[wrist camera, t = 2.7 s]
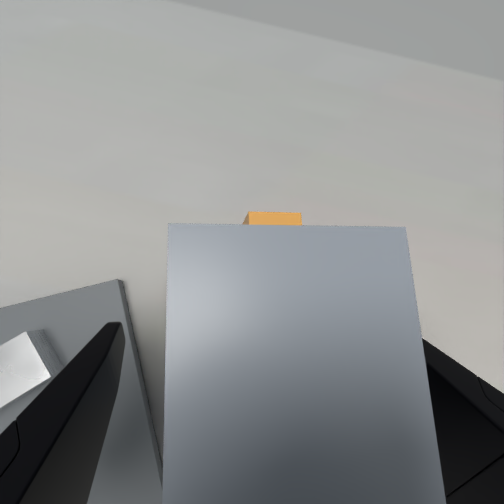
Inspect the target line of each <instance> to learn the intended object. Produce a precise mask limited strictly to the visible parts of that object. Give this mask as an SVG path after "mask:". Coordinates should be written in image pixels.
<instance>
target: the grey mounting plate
mask: <svg viewBox="0 0 504 504" xmlns="http://www.w3.org/2000/svg"><path fill="white" fill-rule="evenodd" d="M116 321H119V322H121V323H122V325H123V330H124V334H125V349H124V356H123V362H122V369H121V375H120V382H119V388H118V392H117V396H116V400H115V404H114V407H113V411H112V415H111V418H110V422H109V425H108V429H107V433H106V436H105V440H104V444H103V447H102V451H101V454H100V458H99V462H98V465H97V469H96V473H95V476H94V480H93V484H92V487H91V491H90V494H89V498H88V502H87V504H162V497H163V469H162V464H161V459H160V455H159V450H158V446H157V441H156V436H155V432H154V427H153V422H152V418H151V413H150V408H149V404H148V399H147V394H146V390H145V385H144V380H143V376H142V371H141V367H140V362H139V357H138V353H137V348H136V343H135V339H134V334H133V329H132V325H131V320H130V315H129V311H128V306H127V301H126V297H125V292H124V287H123V283H122V281H121V280H118V279H116V280H112V281H108V282H104V283H100V284H96V285H92V286H88V287H84V288H80V289H76V290H72V291H68V292H64V293H60V294H56V295H52V296H48V297H44V298H40V299H35V300H31V301H27V302H23V303H19V304H15V305H11V306H7V307H3V308H0V434H1V433H2V432H3V431H4V430H5V429H6V428H7V427H8V426H9V425H10V423H11V422H12V421H14V420H16V417H17V416H18V415H19V414H20V413H21V412H22V411H23V410H24V409H25V408H26V407H27V406H28V405H29V404H30V403H31V402H32V401H33V400H34V399H35V397H36V396H37V395H38V394H39V393H40V392H41V391H42V390H43V389H44V388H45V387H46V386H47V385H48V384H49V383H50V382H51V381H52V380H53V379H54V378H55V377H56V375H57V374H58V373H59V372H60V371H61V370H62V369H63V368H64V367H65V366H66V365H67V364H68V363H69V362H70V361H71V360H72V359H73V358H74V357H75V356H76V355H77V353H78V352H79V351H80V350H81V349H82V348H83V347H84V346H85V345H86V344H87V343H88V342H89V341H90V340H91V339H92V338H93V337H94V336H95V335H96V334H97V333H98V331H99V330H100V329H101V328H102V327H103V326H104V325H105V324H106V323H108V322H116Z"/></svg>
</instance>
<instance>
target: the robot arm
mask: <svg viewBox="0 0 504 504" xmlns="http://www.w3.org/2000/svg"><path fill="white" fill-rule="evenodd" d="M422 342H423V349H424V356H425V363H426V369H427V376H428V383H429V390H430V397H431V403H432V410H433V417H434V424H435V431H436V437H437V444H438V451H439V458H440V465H441V471H442V478H443V485H444V492H445V499H446V504H504V394H503V393H502V392H500V391H499V390H497V389H496V388H494V387H493V386H491V385H490V384H488V383H487V382H486V381H484V380H483V379H481V378H480V377H477V376H476V375H475V374H474V373H472V372H471V371H469V370H468V369H466V368H465V367H464V366H462V365H461V364H459V363H458V362H456V361H455V360H453V359H452V358H450V357H449V356H448V355H446V354H445V353H443V352H442V351H440V350H439V349H437V348H436V347H434V346H433V345H431V344H430V343H429V342H427V341H426V340H424V339H423V338H422ZM124 349H125V334H124V330H123V325H122V323H121V322H119V321H116V322H108V323H106V324H105V325H104V326H103V327H102V328H101V329H100V330H99V331H98V333H97V334H96V335H95V336H94V337H93V338H92V339H91V340H90V341H89V342H88V343H87V344H86V345H85V346H84V347H83V348H82V349H81V350H80V351H79V352H78V353H77V355H76V356H75V357H74V358H73V359H72V360H71V361H70V362H69V363H68V364H67V365H66V366H65V367H64V368H63V369H62V370H61V371H60V372H59V373H58V374H57V375H56V377H55V378H54V379H53V380H52V381H51V382H50V383H49V384H48V385H47V386H46V387H45V388H44V389H43V390H42V391H41V392H40V393H39V394H38V395H37V396H36V397H35V399H34V400H33V401H32V402H31V403H30V404H29V405H28V406H27V407H26V408H25V409H24V410H23V411H22V412H21V413H20V414H19V415H18V416H17V417H16V420H14V421H12V422H11V423H10V425H9V426H8V427H7V428H6V429H5V430H4V431H3V432H2V433H1V434H0V504H87V502H88V498H89V494H90V491H91V487H92V484H93V480H94V476H95V473H96V469H97V465H98V462H99V458H100V454H101V451H102V447H103V444H104V440H105V436H106V433H107V429H108V425H109V422H110V418H111V415H112V411H113V407H114V404H115V400H116V396H117V392H118V388H119V382H120V375H121V369H122V362H123V356H124Z"/></svg>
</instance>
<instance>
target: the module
mask: <svg viewBox="0 0 504 504" xmlns="http://www.w3.org/2000/svg"><path fill="white" fill-rule="evenodd" d="M162 504H446V499H445V492H444V485H443V478H442V471H441V465H440V458H439V451H438V444H437V437H436V431H435V424H434V417H433V410H432V403H431V397H430V390H429V383H428V376H427V369H426V363H425V356H424V349H423V342H422V335H421V329H420V322H419V315H418V308H417V301H416V295H415V288H414V281H413V274H412V267H411V261H410V254H409V247H408V240H407V234H406V227H370V226H307V225H302V220H301V213H284V212H248V214H247V216H246V218H245V220H244V222H243V224H181V223H168V259H167V306H166V354H165V401H164V449H163V497H162Z"/></svg>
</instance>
